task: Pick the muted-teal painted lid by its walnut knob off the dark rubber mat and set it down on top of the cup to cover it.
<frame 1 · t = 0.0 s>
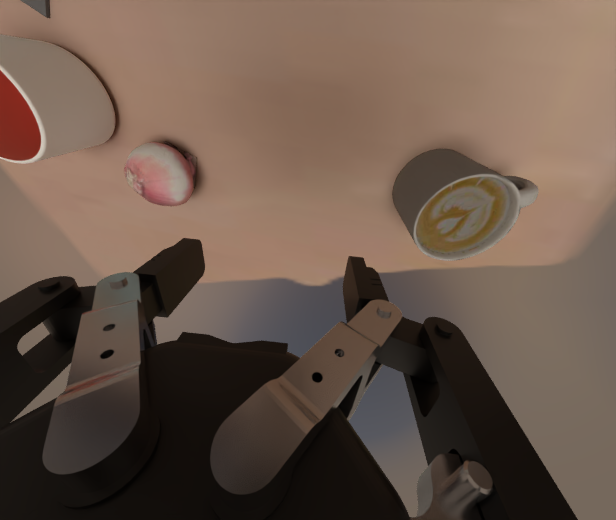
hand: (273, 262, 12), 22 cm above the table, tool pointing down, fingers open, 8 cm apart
coffee mug: (442, 186, 31), on the table
cup: (78, 98, 28), on the table
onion: (177, 168, 32), on the table
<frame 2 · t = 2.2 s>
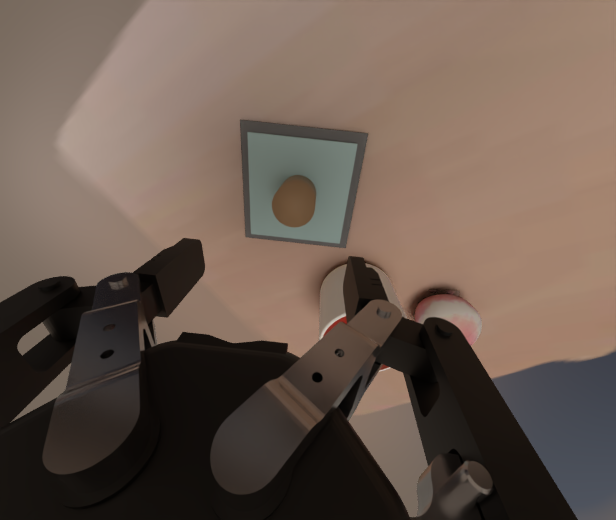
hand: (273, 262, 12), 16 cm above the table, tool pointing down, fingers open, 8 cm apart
mat: (299, 190, 27), on the table
cup: (354, 287, 33), on the table
lid: (299, 191, 26), resting on mat
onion: (436, 304, 34), on the table
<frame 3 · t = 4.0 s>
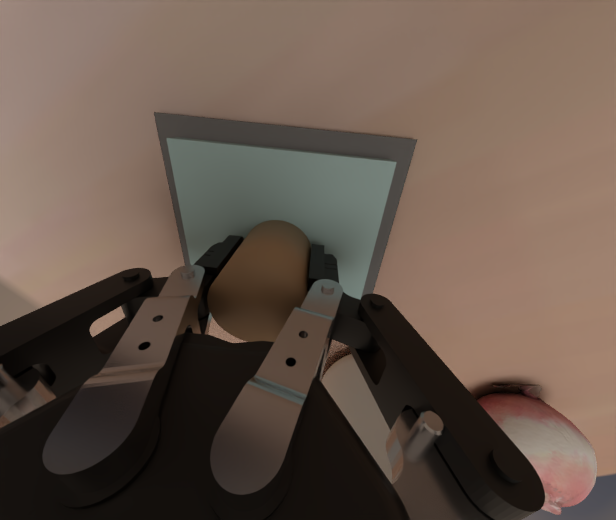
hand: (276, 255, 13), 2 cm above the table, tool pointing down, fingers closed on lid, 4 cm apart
mat: (281, 242, 15), on the table
cup: (373, 376, 21), on the table
lid: (280, 244, 14), resting on mat, touching gripper
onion: (498, 400, 22), on the table
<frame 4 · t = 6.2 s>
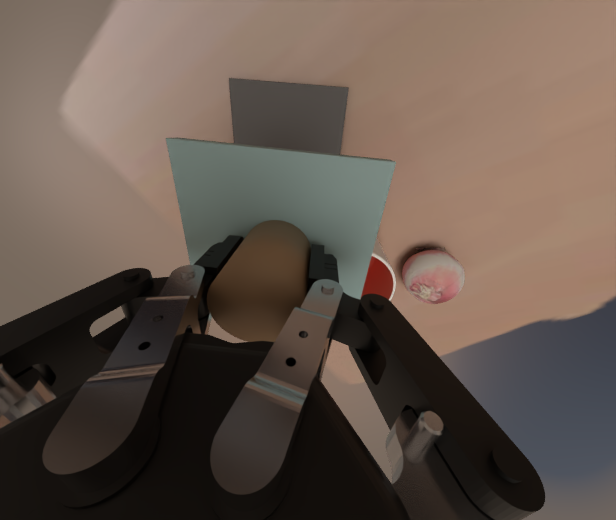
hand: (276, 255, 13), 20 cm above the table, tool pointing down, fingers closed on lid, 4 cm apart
mat: (287, 149, 28), on the table
cup: (344, 248, 35), on the table
lid: (280, 244, 14), point 18 cm above the table, touching gripper
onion: (423, 264, 35), on the table
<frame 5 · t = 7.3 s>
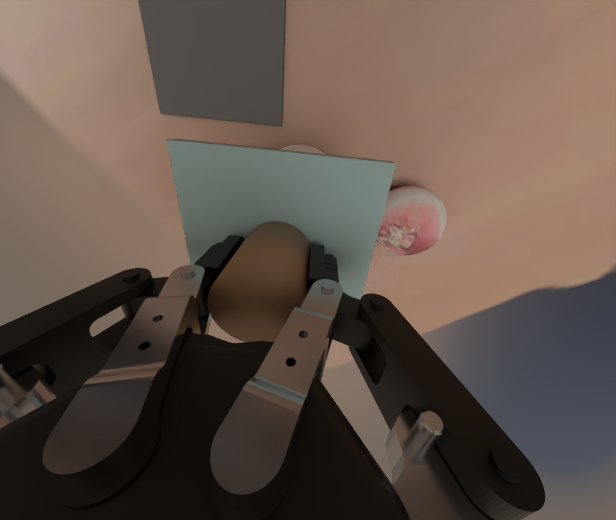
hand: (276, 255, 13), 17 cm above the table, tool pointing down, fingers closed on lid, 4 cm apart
mat: (215, 38, 21), on the table
lid: (280, 245, 14), point 15 cm above the table, touching gripper
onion: (398, 212, 29), on the table
when the fingers open (13 cm above the table, at t = 8.2 s): lid drops 2 cm, resting on cup.
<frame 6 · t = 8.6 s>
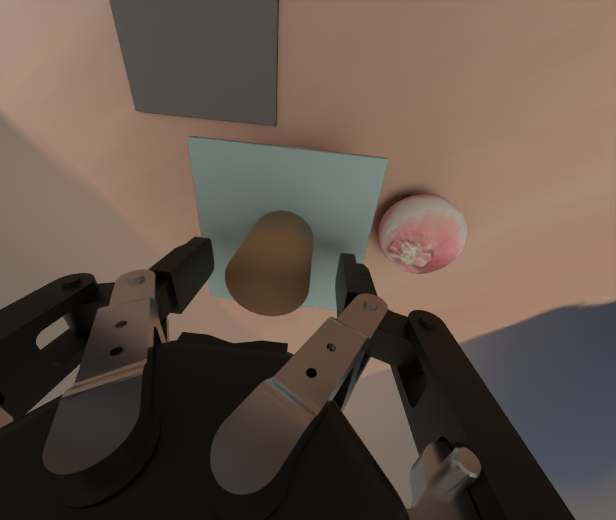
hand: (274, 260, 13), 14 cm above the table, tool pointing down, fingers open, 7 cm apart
mat: (197, 23, 18), on the table
lid: (285, 234, 16), point 10 cm above the table, touching cup
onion: (408, 222, 25), on the table
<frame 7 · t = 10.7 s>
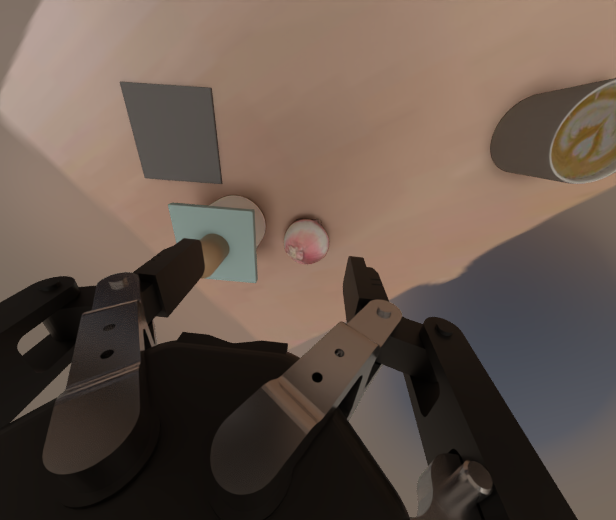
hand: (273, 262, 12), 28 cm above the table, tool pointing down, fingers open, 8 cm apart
coffee mug: (541, 128, 32), on the table
mat: (176, 137, 36), on the table
cup: (240, 221, 42), on the table, touching lid
lid: (218, 243, 33), point 10 cm above the table, touching cup
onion: (308, 234, 42), on the table
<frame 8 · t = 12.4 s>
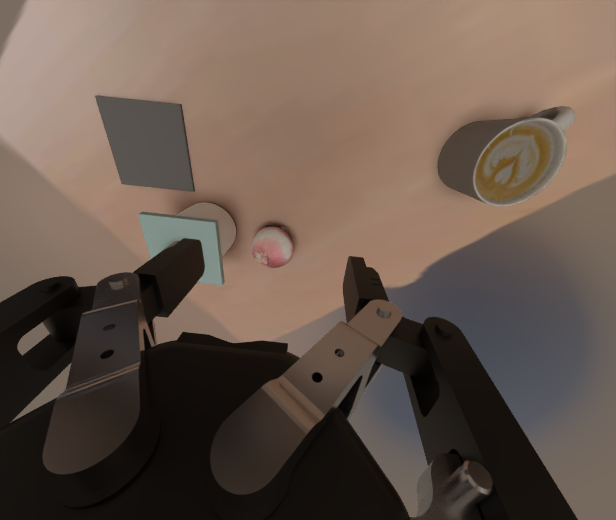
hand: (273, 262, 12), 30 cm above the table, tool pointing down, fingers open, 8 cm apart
coffee mug: (481, 151, 36), on the table
mat: (150, 147, 38), on the table
cup: (213, 225, 45), on the table, touching lid
lid: (186, 249, 36), point 10 cm above the table, touching cup
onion: (276, 239, 45), on the table
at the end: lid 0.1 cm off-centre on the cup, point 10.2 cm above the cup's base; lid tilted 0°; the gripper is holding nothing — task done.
